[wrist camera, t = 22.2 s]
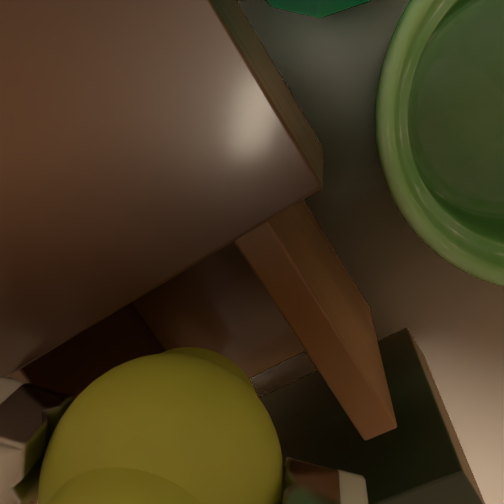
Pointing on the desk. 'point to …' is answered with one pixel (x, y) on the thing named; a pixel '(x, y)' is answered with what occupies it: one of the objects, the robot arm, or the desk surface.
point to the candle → (315, 6)
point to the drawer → (285, 347)
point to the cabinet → (131, 155)
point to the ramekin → (447, 129)
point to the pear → (165, 437)
